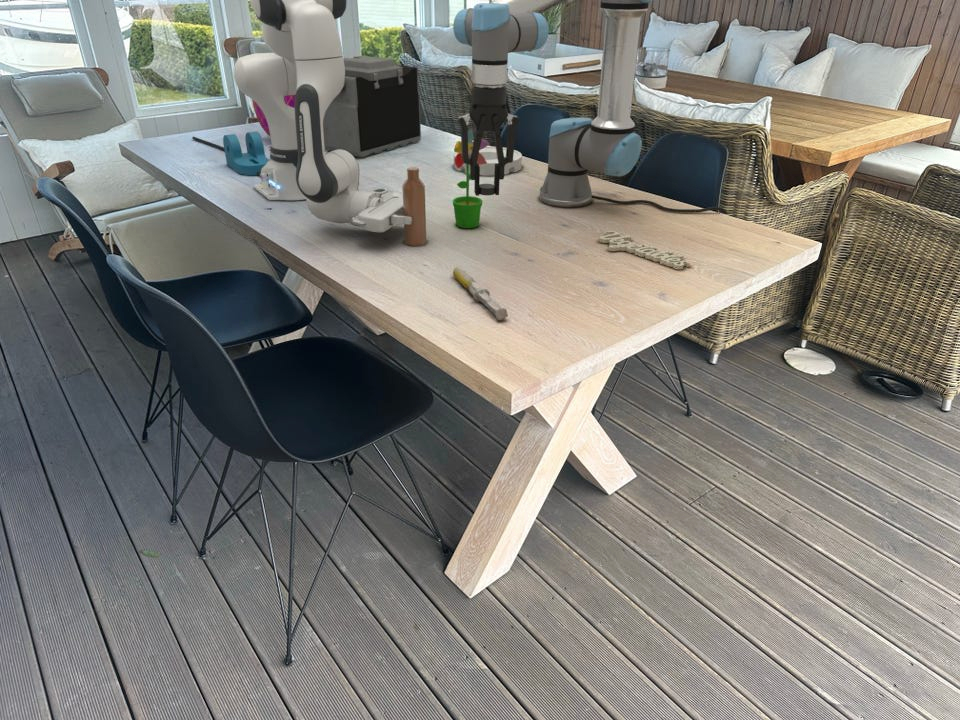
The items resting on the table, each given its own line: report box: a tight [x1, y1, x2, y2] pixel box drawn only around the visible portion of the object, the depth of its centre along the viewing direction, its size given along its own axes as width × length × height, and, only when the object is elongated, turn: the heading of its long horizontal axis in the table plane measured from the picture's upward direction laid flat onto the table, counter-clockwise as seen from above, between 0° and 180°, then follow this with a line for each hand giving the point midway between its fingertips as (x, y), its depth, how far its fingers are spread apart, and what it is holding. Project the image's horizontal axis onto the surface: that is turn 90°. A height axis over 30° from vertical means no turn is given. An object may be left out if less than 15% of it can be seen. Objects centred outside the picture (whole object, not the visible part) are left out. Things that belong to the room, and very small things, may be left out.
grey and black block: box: [323, 55, 422, 159], centre depth 250 cm, size 37×22×30 cm, turn 144°
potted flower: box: [452, 129, 491, 229], centre depth 177 cm, size 9×8×25 cm
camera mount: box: [222, 131, 270, 176], centre depth 226 cm, size 18×10×10 cm, turn 35°
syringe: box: [452, 266, 509, 321], centre depth 145 cm, size 25×4×3 cm, turn 21°
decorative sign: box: [599, 230, 690, 270], centre depth 167 cm, size 26×1×10 cm
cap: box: [479, 183, 495, 196], centre depth 157 cm, size 4×4×2 cm
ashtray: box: [453, 145, 523, 177], centre depth 234 cm, size 23×23×4 cm
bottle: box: [401, 166, 427, 247], centre depth 168 cm, size 5×5×18 cm
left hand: (418, 216), depth 169 cm, fingers closed on bottle, 5 cm apart
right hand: (486, 193), depth 158 cm, fingers closed on cap, 4 cm apart
